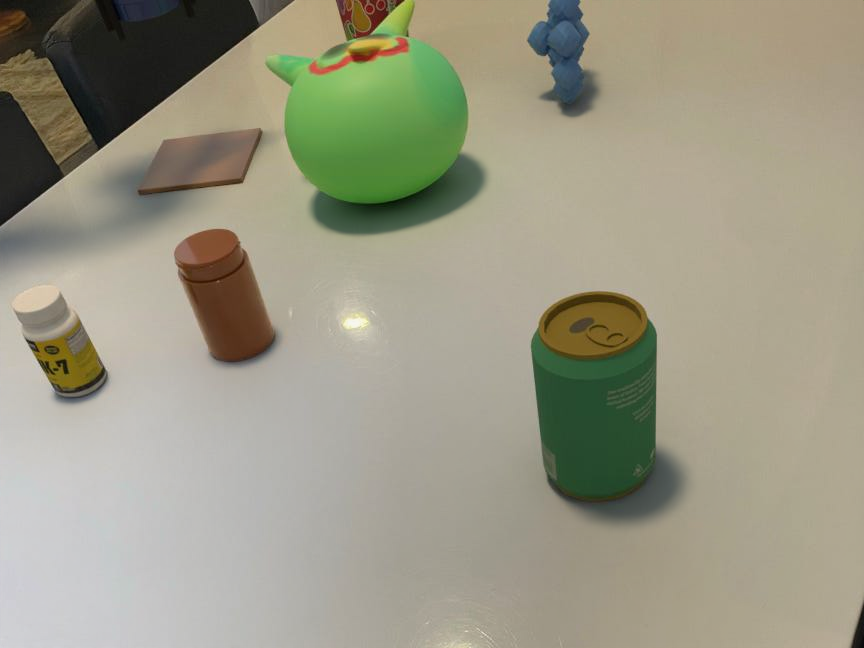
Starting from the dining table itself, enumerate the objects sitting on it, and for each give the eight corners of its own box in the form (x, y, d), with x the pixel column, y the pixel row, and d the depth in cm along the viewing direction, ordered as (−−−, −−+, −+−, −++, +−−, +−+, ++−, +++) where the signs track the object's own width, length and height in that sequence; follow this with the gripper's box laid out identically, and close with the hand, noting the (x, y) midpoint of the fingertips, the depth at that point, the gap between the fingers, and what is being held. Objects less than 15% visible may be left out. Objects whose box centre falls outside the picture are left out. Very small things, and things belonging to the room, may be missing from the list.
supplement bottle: (44, 395, 85) (-6, 311, 78) (76, 362, 87) (30, 278, 81) (87, 402, 83) (40, 317, 77) (118, 369, 86) (75, 284, 79)
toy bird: (325, 251, 94) (281, 91, 82) (290, 178, 104) (247, 28, 93) (498, 198, 95) (478, 34, 84) (447, 132, 106) (423, -21, 95)
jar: (203, 364, 84) (162, 270, 77) (215, 325, 88) (178, 231, 81) (269, 357, 84) (234, 261, 77) (279, 317, 87) (247, 222, 80)
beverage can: (596, 416, 73) (589, 272, 64) (678, 461, 69) (684, 313, 59) (521, 472, 70) (502, 330, 61) (602, 522, 66) (595, 378, 57)
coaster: (138, 194, 107) (136, 190, 106) (165, 143, 114) (163, 139, 114) (242, 182, 105) (241, 178, 105) (262, 132, 112) (260, 127, 112)
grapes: (534, 75, 112) (524, -45, 103) (592, 69, 111) (588, -53, 102) (528, 121, 105) (517, -4, 96) (591, 115, 104) (586, -12, 95)
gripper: (-18, -164, 81) (80, 64, 95) (177, -219, 84) (244, 10, 98) (-28, -178, 86) (67, 41, 100) (157, -230, 89) (224, -10, 103)
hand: (154, 24), depth 99 cm, fingers closed on lid, 6 cm apart
